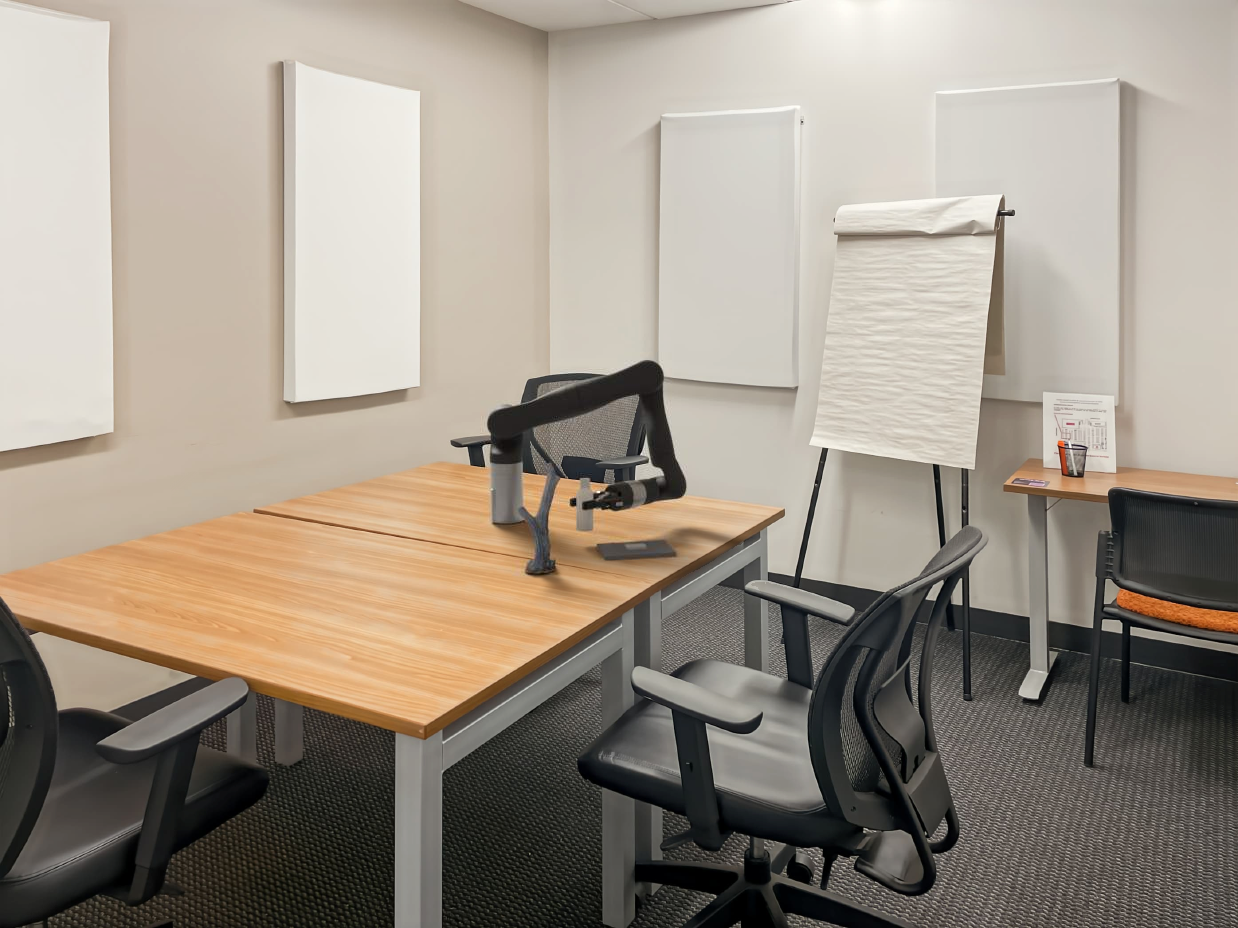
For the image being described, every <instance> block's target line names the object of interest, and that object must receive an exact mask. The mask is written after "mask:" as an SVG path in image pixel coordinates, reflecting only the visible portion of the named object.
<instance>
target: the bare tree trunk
mask: <svg viewBox="0 0 1238 928" xmlns="http://www.w3.org/2000/svg"><path fill="white" fill-rule="evenodd" d="M546 467H547V468H546V479H545V482H544V483H545V484H544V489H543V491H542V495H541V498H540V502H539V507H538V510H537V512H536V514H535V516H533V515H532V514H531V513H530V512H529V511H528V510H527V509H526V507H524V505H523V506H521V507H520V508H518V512H519V514H520V515H521V516H522V517H523V520H525V521H526V522H527V526H528V528H529V530H530V532H531V533H532V537H533V541H534V558H533V559H530V560H529V561H528V562H527V563H526V566H525V569H524V571H525V572H526V573H529V574H541V573H544V574H546V573H551V572H552V571H553V572H554V571H555V570H556V569H557V567H556V558H553V559H550V558H551V547H552V546H551V543H550V538H549V531H550V530H549V515H550V511H551V507H552V502H553V500H554V495H555V492H556V488H557V485H558V483H559V482H560V480H561V476H559V475H557V473H556V470H555V467H554V465H553V463H552V462H548V463H547V466H546Z"/></svg>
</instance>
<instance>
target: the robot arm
mask: <svg viewBox="0 0 1238 928" xmlns="http://www.w3.org/2000/svg"><path fill="white" fill-rule="evenodd" d="M664 381H665V373H664V370H663V368H662V367H661V365H660V364H659V363H657V362H656V361H654V360H651V359H644V360H640V361H638V362H637V363H634V364H632V365H630V366H628V367H625V368H623V369H621V370H618V371H616V372H614V373H610V374H606V375H601V376H600V375H599V376H595V377H592V378H587V379H584V380H580V381H575V382H572V383H570V384H566V385H564V386H561V387H558V388H556V389H554V390H551V391H549V392H547V393H545V394H542V395H541V396H539V397H536V398H535V399H533V400H531V401H527V402H523V403H519V404H515V405H512V404H507V403H505V404H504V403H503V404H500V405H499V406H496V407H495V408H494V409H493V410H492V411H491V412H490V413H489V415H488V417H487V422H486V428H487V430H488V432H489V434H490V447H489V478H490V479H489V480H490V481H489V482H490V486H489V504H490V507H489V508H490V521H491V523H492V524H506V525H507V524H516V523H521V522H523V521H524V518H523V517H522V516H521V515H520V514H519V512H518V508H520V507H521V506H523V507H524V480H523V476H524V473H523V471H524V469H523V453H524V452H523V449H524V433H525V432H528V431H529V430H532V429H534V428H535V429H536V428H537V427H540V426H543V425H548V424H553V423H558V422H562V421H565V420H570V419H574V418H577V417H579V416H583V415H586V414H589V413H591V412H594V411H597V410H599V409H601V408H603V407H605V406H607V405H609V404H611V403H613V402H615V401H618V400H622V399H624V398H628V397H632V396H637V395H638V398H639V400H640V405H641V409H642V413H643V418H644V425H645V427H644V428H645V436H646V443H647V447H648V454H649V458H650V459H649V460H650V462H651V465H652V466H653V467H654V468H657V469H660V470H661V471H662V473H663V475H658V476H653V477H650V478H643V479H637V480H635V479H634V480H625V481H621V482H614V483H610V484H608V485H607V486H606V488H605V489H604V490H598V491H595V492H594V491H592V492H593V500H589V501H584V502H582V510H590V509H593V510H594V509H595V510H601V511H606V510H607V511H608V510H609V511H612V512H620V511H625V510H630V509H635V508H637V507H640V506H646V505H650V504H653V503H655V502H663V501H670V500H677V499H678V500H679V499H681V498H683V497H684V495H685V494H686V492H687V489H688V488H687V486H688V485H687V480H686V477H685V475H684V473H683V471H682V468H681V465H680V464H679V462H678V460H677V458H676V454H675V453H676V452H675V449H674V448H675V447H674V442H673V438H672V434H671V433H672V432H671V430H670V429H671V428H670V425H669V420H668V417H667V414H666V413H667V412H666V408H665V400H664ZM569 507H571V508H575V507H576V497H571V498H570V499H569Z"/></svg>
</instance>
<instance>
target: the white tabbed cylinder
mask: <svg viewBox="0 0 1238 928" xmlns="http://www.w3.org/2000/svg"><path fill="white" fill-rule="evenodd" d="M593 492H594V491H593V490H592V489H591V478H589V477H581V478H579V489H578V490H577V491H576V506H575V507H576V510H575V511H576V515H575V516H576V517H575V518H576V520H575V521H576V522H575V523H576V526H575V527H576V528H575V529H576V531H578V532H592V531H594V509H590V510H582V502H584V501H589V500H593Z"/></svg>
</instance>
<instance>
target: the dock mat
mask: <svg viewBox="0 0 1238 928" xmlns="http://www.w3.org/2000/svg"><path fill="white" fill-rule="evenodd" d="M596 549H597V550H598V551H599V553H600V554H601V557H602V558H603V559H604V560H605V561H612V560H627V559H628V560H631V559H644V558H646V559H649V558H650V559H651V558H663V557H664V558H665V557H676V556H677V552H676V550H675V549H674V548H673V547H672V546H671V545H670V544H669V543H668V542H667V541H666V540H665V539H657V540H656V539H655V540H639V541H638V540H637V541H621V542H605V543H604V542H603V543H602V542H601V543H596Z"/></svg>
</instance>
